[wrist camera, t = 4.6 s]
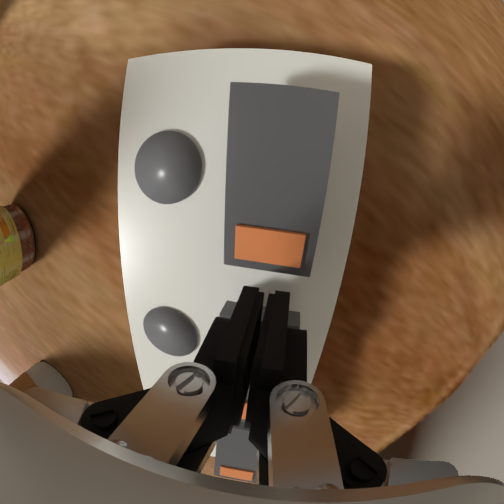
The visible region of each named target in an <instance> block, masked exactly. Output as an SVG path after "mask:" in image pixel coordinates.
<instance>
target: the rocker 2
mask: <svg viewBox="0 0 504 504" xmlns="http://www.w3.org/2000/svg"><path fill="white" fill-rule="evenodd" d="M338 103H339V92H334V91H328V90H321V89H314V88H307V87H299V86H290V85H280V84H267V83H249V82H230V96H229V114H228V134H227V157H226V185H225V221H224V264H225V265H232V266H238V267H244V268H251V269H257V270H264V271H271V272H277V273H284V274H291V275H298V276H304V277H310V274H311V269H312V265H313V260H314V255H315V250H316V245H317V240H318V235H319V230H320V225H321V219H322V214H323V208H324V202H325V197H326V191H327V184H328V178H329V172H330V165H331V158H332V151H333V144H334V137H335V129H336V121H337V112H338Z"/></svg>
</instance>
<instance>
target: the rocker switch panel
mask: <svg viewBox="0 0 504 504" xmlns="http://www.w3.org/2000/svg"><path fill="white" fill-rule="evenodd" d="M371 81H372V64H369V63H365V62H360V61H356V60H351V59H346V58H340V57H335V56H329V55H322V54H315V53H308V52H299V51H289V50H276V49H254V48H223V49H202V50H189V51H179V52H170V53H162V54H155V55H149V56H143V57H138V58H132V59H128V65H127V71H126V77H125V85H124V92H123V101H122V110H121V121H120V134H119V153H118V219H119V238H120V252H121V263H122V273H123V282H124V290H125V298H126V305H127V311H128V318H129V324H130V330H131V335H132V340H133V346H134V351H135V355H136V360H137V365H138V369H139V373H140V378H141V382H142V386H143V390H145V389H149V388H152V386H153V385H154V384H155V383H156V382H157V381H158V379H159V378H160V377H161V376H162V375H163V373H164V372H165V371H166V370H167V369H168V368H170V367H171V366H173V365H175V364H178V363H183V362H193V361H194V359H195V357H196V355H197V353H198V351H199V349H200V347H201V345H202V343H203V341H204V339H205V337H206V335H207V333H208V331H209V329H210V327H211V325H212V323H213V321H214V319H215V317H217V316H218V317H219V314H220V312H221V310H222V308H223V307H224V305H225V303H226V301H227V300H228V301H233V302H237V301H238V298H239V296H240V294H241V291H242V289H243V286H251V287H258V288H259V292H264V301H263V307H266V304H267V299H268V295H269V293H271V294H275V290H278V291H285V292H290V303H289V311H296V312H300V329H301V330H307V383H310V384H311V383H312V380H313V377H314V374H315V371H316V368H317V365H318V362H319V359H320V356H321V353H322V350H323V346H324V343H325V340H326V337H327V333H328V330H329V326H330V323H331V319H332V316H333V312H334V309H335V305H336V301H337V297H338V293H339V290H340V286H341V282H342V277H343V273H344V269H345V265H346V260H347V256H348V251H349V247H350V242H351V237H352V232H353V227H354V222H355V217H356V211H357V205H358V200H359V193H360V187H361V181H362V174H363V167H364V159H365V151H366V143H367V134H368V124H369V112H370V99H371ZM230 82H249V83H267V84H280V85H290V86H299V87H307V88H314V89H321V90H328V91H334V92H339V103H338V112H337V121H336V129H335V137H334V144H333V151H332V158H331V165H330V172H329V178H328V184H327V191H326V197H325V202H324V208H323V214H322V219H321V225H320V230H319V235H318V240H317V245H316V250H315V255H314V260H313V265H312V269H311V274H310V277H304V276H298V275H291V274H284V273H277V272H271V271H264V270H257V269H251V268H244V267H238V266H232V265H225V264H224V221H225V185H226V157H227V134H228V114H229V96H230ZM215 455H216V445H215V447H214V449H213V451H212V453H211V455H210V456H214V457H215Z"/></svg>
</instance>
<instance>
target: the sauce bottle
mask: <svg viewBox="0 0 504 504" xmlns="http://www.w3.org/2000/svg"><path fill="white" fill-rule="evenodd" d="M34 258H35V242H34V234H33V231H32V229H31V225H30V223H29V220H28V219H27V217H26V215H25V213H24V212H23V211H22V210H21V208H20V207H18V206H17V205H7V206H0V286H1V285H3V284H4V283H6V282H8V281H9V280H11V279H13V278H15V277H17V276H18V275H19V274H20V272H21V271H24V270H25V269H27V268H28V267H30V265H31V264H32V263H33V260H34Z"/></svg>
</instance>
